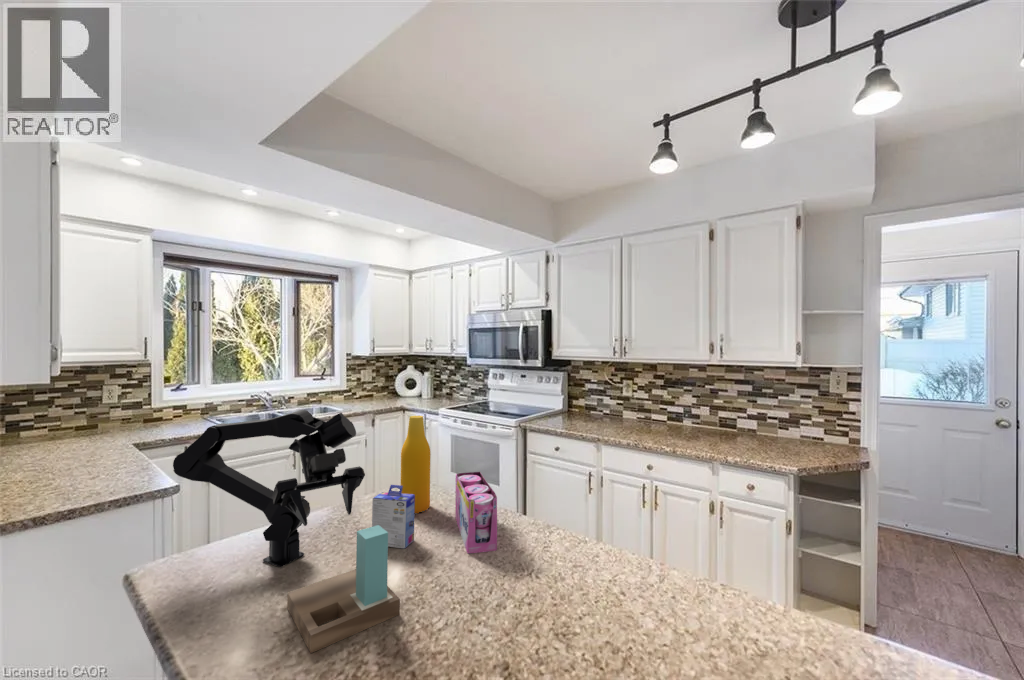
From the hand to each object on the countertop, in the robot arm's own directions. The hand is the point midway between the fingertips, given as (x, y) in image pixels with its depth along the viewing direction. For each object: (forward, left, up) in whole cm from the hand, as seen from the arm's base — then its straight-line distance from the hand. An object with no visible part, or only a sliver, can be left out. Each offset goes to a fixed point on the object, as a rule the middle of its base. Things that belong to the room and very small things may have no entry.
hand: (328, 519), depth 92 cm
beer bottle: (-8, +42, -14) cm, 45 cm away
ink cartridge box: (+1, +21, -14) cm, 25 cm away
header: (+11, -6, -14) cm, 18 cm away
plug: (+16, -4, -10) cm, 20 cm away
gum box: (+17, +35, -14) cm, 41 cm away
